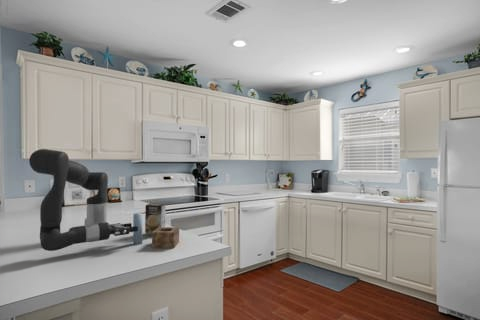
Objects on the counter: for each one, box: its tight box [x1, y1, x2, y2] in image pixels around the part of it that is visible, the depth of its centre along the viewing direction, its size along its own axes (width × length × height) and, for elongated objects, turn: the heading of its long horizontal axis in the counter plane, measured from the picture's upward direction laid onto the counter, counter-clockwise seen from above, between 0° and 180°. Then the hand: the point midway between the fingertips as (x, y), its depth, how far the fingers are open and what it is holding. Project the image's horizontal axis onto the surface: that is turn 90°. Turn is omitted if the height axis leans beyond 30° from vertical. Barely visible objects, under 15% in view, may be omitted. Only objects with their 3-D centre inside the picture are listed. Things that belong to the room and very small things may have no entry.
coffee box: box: [144, 203, 166, 237], centre depth 150 cm, size 9×6×16 cm
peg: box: [132, 212, 143, 246], centre depth 133 cm, size 4×4×14 cm
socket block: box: [151, 226, 180, 249], centre depth 131 cm, size 10×10×7 cm
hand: (134, 226), depth 132 cm, fingers open, 8 cm apart
